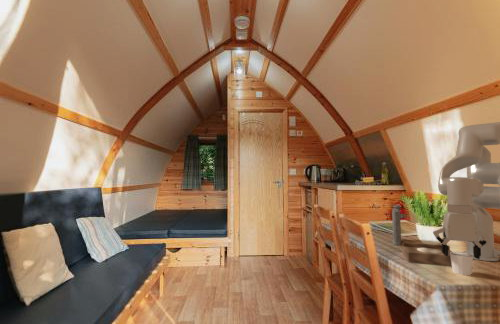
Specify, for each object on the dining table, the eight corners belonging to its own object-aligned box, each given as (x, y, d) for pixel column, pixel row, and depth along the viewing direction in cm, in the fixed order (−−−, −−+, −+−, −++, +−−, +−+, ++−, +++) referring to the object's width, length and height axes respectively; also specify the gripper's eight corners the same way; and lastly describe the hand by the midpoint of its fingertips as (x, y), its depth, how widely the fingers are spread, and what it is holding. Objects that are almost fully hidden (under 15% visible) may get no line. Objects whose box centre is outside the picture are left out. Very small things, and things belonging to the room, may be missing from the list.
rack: (449, 258, 121) (448, 245, 121) (459, 266, 110) (459, 252, 110) (402, 254, 127) (402, 242, 127) (408, 262, 116) (408, 248, 116)
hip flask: (393, 238, 160) (392, 204, 161) (401, 239, 158) (400, 204, 159) (392, 244, 146) (392, 206, 147) (401, 245, 144) (400, 207, 145)
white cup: (478, 276, 99) (477, 257, 99) (456, 275, 100) (455, 255, 100) (467, 270, 105) (466, 252, 106) (447, 269, 107) (446, 250, 107)
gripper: (482, 210, 105) (484, 256, 103) (430, 208, 110) (430, 251, 109) (492, 212, 98) (494, 262, 96) (436, 209, 103) (436, 256, 102)
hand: (460, 256), depth 103 cm, fingers open, 9 cm apart
